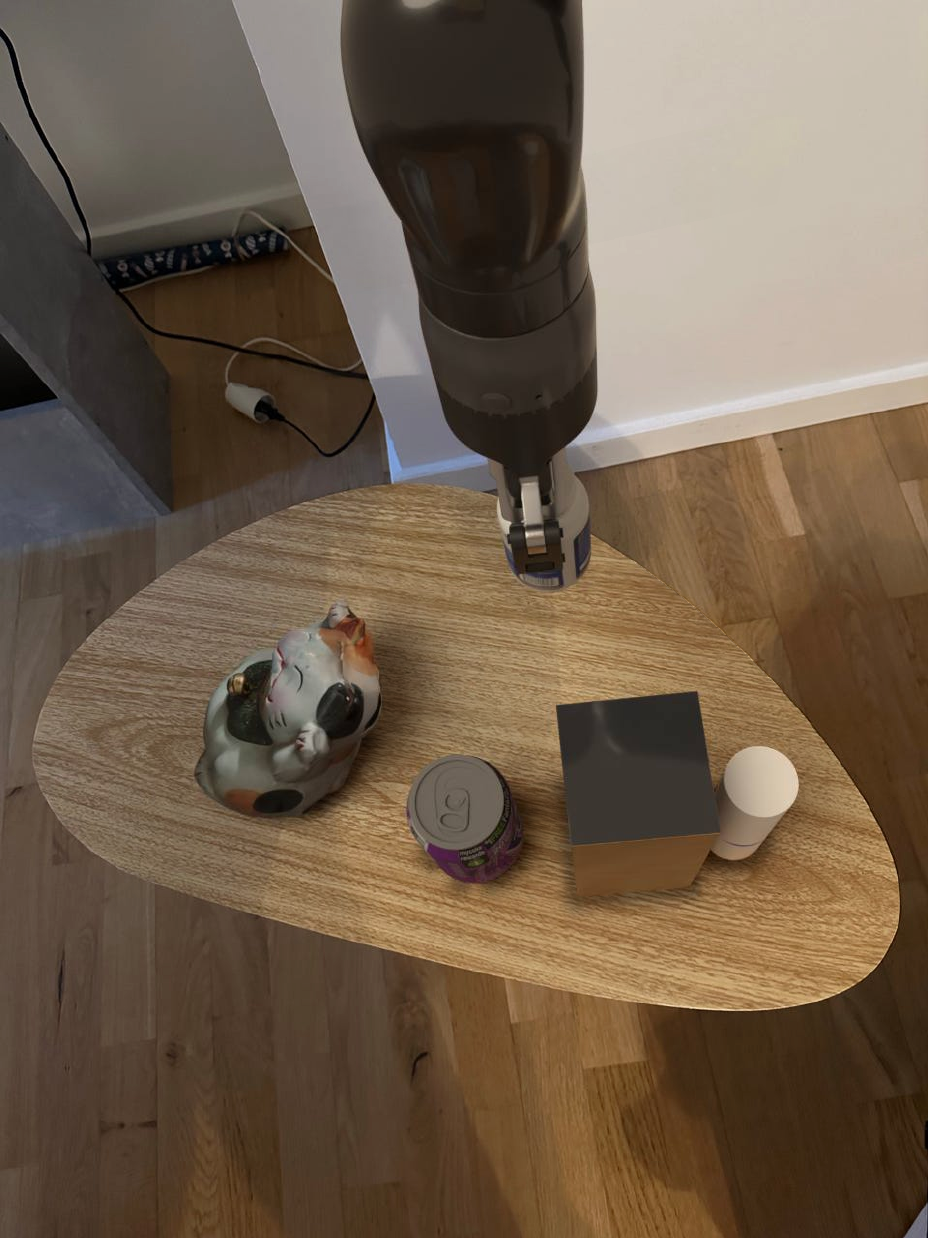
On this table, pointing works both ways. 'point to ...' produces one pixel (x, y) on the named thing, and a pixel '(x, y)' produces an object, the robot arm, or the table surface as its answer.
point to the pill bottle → (572, 544)
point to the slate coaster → (636, 769)
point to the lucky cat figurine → (291, 719)
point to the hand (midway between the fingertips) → (536, 517)
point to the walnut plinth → (639, 865)
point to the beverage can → (465, 818)
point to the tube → (752, 799)
